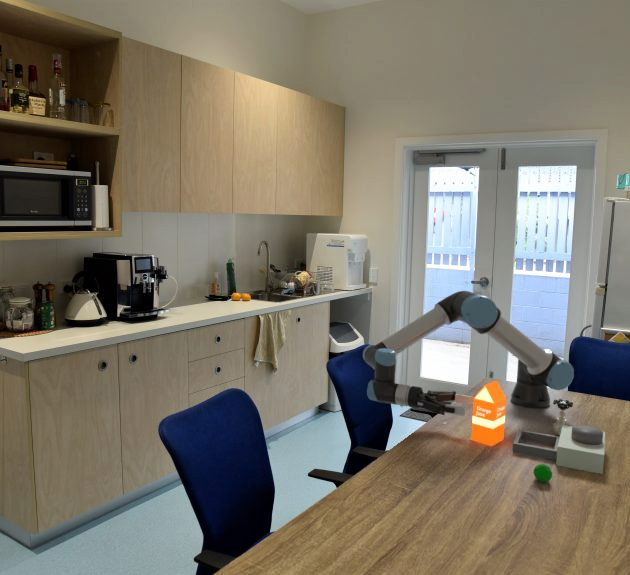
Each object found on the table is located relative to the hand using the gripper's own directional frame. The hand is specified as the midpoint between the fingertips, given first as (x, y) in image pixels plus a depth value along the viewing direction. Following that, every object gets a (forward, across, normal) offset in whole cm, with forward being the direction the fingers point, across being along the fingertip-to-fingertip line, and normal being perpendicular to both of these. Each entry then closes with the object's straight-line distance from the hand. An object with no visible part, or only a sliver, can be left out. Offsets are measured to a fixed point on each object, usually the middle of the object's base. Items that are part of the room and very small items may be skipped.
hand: (469, 406), depth 205 cm
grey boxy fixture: (+29, -1, -11) cm, 31 cm away
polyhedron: (+27, +24, -11) cm, 38 cm away
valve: (+28, -18, -11) cm, 36 cm away
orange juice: (+7, 0, -11) cm, 13 cm away
